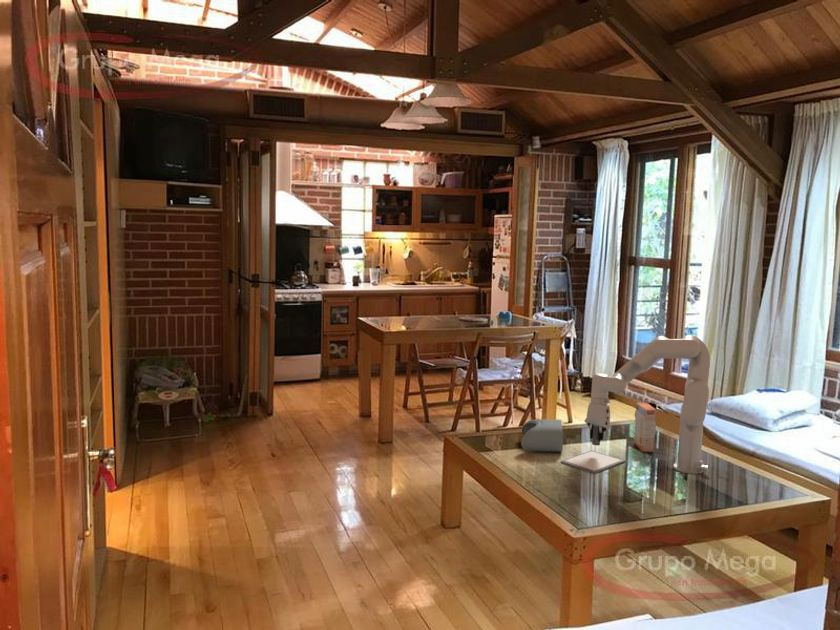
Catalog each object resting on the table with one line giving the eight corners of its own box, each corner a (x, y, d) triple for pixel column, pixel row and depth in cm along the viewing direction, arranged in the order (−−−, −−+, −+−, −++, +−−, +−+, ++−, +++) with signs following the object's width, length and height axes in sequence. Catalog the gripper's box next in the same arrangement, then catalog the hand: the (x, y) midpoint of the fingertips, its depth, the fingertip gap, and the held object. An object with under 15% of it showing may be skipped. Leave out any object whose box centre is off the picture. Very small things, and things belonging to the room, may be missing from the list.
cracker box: (654, 452, 329) (657, 409, 327) (641, 452, 330) (644, 409, 327) (645, 443, 343) (648, 402, 341) (633, 442, 343) (635, 401, 341)
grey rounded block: (562, 456, 321) (562, 429, 319) (521, 455, 324) (521, 428, 322) (560, 441, 342) (560, 416, 341) (522, 441, 345) (521, 416, 344)
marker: (601, 444, 320) (603, 419, 318) (597, 446, 317) (598, 420, 315) (594, 442, 322) (596, 417, 321) (590, 443, 320) (591, 418, 318)
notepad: (625, 462, 315) (625, 460, 315) (594, 473, 299) (594, 471, 299) (591, 452, 328) (591, 450, 328) (560, 462, 312) (560, 460, 312)
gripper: (619, 403, 313) (616, 442, 316) (588, 395, 325) (586, 433, 328) (610, 405, 308) (607, 445, 311) (579, 397, 321) (576, 435, 323)
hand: (596, 438), depth 319 cm, fingers closed on marker, 3 cm apart
